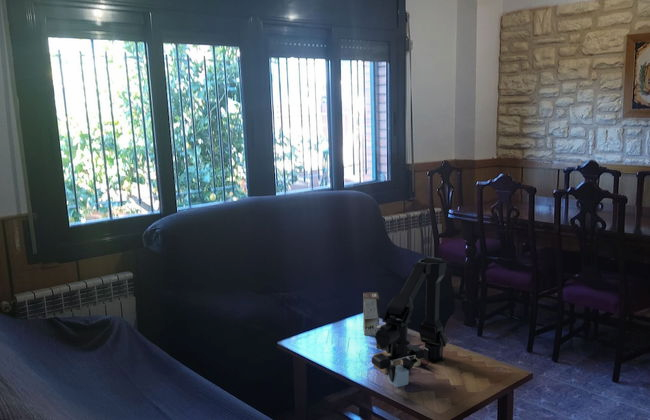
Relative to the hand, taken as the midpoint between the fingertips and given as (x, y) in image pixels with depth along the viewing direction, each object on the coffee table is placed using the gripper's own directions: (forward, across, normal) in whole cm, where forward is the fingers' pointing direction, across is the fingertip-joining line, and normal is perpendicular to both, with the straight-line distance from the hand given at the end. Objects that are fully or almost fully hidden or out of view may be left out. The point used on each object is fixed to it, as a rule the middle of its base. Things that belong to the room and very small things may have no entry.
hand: (398, 379), depth 189 cm
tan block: (+1, -3, -11) cm, 11 cm away
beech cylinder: (+1, -14, -9) cm, 17 cm away
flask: (+1, -14, -27) cm, 30 cm away
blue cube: (+1, 0, 0) cm, 1 cm away
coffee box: (+1, -17, -43) cm, 46 cm away
